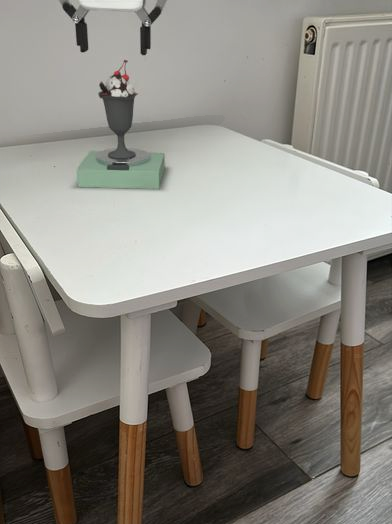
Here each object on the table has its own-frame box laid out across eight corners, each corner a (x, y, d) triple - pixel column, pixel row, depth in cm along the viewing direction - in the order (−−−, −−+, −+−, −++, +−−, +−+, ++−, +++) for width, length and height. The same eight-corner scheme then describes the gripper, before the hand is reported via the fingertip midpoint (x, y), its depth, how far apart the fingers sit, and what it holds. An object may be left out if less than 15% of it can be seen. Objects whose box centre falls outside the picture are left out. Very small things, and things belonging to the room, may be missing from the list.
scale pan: (91, 166, 96) (91, 161, 95) (101, 151, 104) (100, 147, 103) (147, 167, 96) (146, 163, 95) (152, 152, 104) (152, 148, 103)
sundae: (144, 151, 102) (141, 59, 93) (134, 161, 96) (130, 64, 88) (109, 148, 102) (103, 57, 94) (98, 158, 97) (90, 62, 89)
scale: (78, 187, 96) (75, 165, 94) (91, 166, 106) (89, 147, 104) (159, 189, 96) (158, 168, 94) (164, 168, 106) (164, 149, 104)
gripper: (170, -76, 84) (169, 52, 93) (55, -81, 84) (66, 48, 93) (166, -80, 77) (165, 58, 87) (42, -86, 78) (55, 53, 87)
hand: (114, 52), depth 90 cm, fingers open, 9 cm apart
